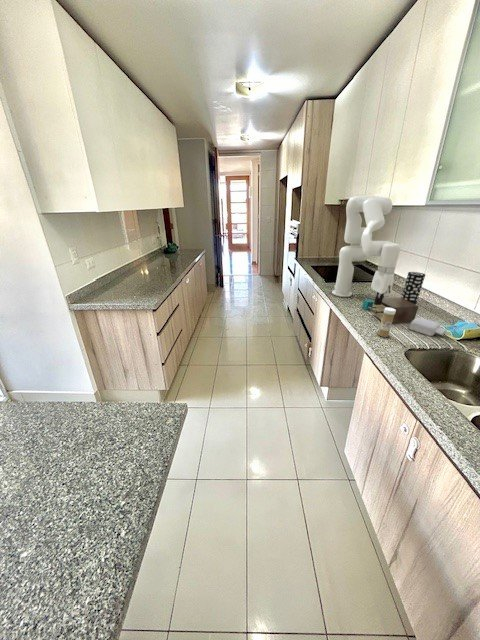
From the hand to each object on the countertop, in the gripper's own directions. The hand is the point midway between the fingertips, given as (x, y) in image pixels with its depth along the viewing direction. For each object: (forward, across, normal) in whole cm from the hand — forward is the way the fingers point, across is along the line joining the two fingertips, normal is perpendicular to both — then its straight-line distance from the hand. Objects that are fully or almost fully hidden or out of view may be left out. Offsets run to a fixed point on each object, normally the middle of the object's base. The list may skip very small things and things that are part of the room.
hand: (377, 304), depth 134 cm
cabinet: (+9, 0, +12) cm, 14 cm away
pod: (+8, -14, +6) cm, 18 cm away
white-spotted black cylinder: (+9, -14, +32) cm, 36 cm away
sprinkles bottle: (+9, +17, -6) cm, 20 cm away
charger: (+9, +18, +18) cm, 26 cm away
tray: (+8, 0, +6) cm, 10 cm away
